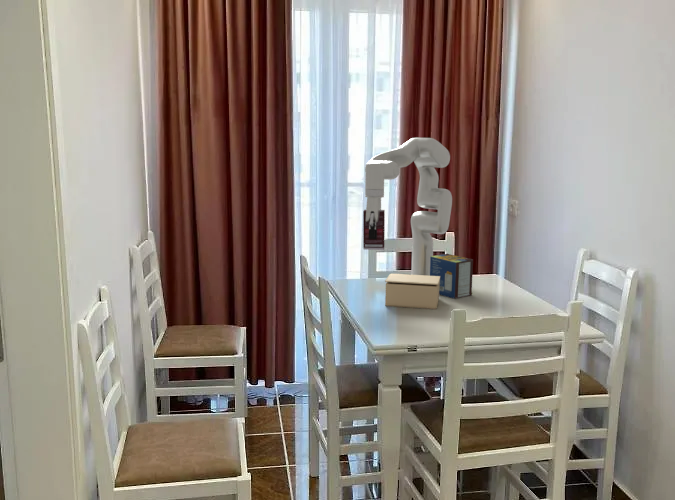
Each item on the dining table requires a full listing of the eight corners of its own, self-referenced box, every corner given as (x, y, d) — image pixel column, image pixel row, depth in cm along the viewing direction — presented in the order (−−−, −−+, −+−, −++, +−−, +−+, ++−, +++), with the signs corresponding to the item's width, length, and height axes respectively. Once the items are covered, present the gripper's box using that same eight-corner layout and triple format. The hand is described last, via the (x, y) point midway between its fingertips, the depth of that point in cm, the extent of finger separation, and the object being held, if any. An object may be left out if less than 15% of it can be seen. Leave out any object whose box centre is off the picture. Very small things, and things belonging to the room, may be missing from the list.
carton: (390, 296, 283) (391, 275, 281) (438, 299, 279) (439, 277, 277) (385, 306, 268) (385, 283, 266) (436, 309, 264) (437, 286, 262)
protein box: (445, 288, 298) (447, 253, 295) (472, 295, 286) (473, 259, 283) (428, 291, 292) (429, 256, 289) (454, 299, 280) (456, 262, 277)
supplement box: (384, 247, 279) (385, 209, 276) (384, 250, 274) (384, 211, 271) (363, 247, 280) (363, 209, 277) (362, 249, 275) (363, 210, 272)
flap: (390, 274, 281) (390, 273, 281) (440, 277, 277) (440, 276, 277) (385, 281, 266) (385, 280, 265) (437, 284, 261) (437, 283, 261)
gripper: (368, 190, 282) (368, 234, 285) (361, 195, 265) (361, 241, 269) (386, 191, 280) (385, 234, 284) (380, 195, 264) (380, 242, 267)
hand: (373, 237), depth 276 cm, fingers closed on supplement box, 5 cm apart
